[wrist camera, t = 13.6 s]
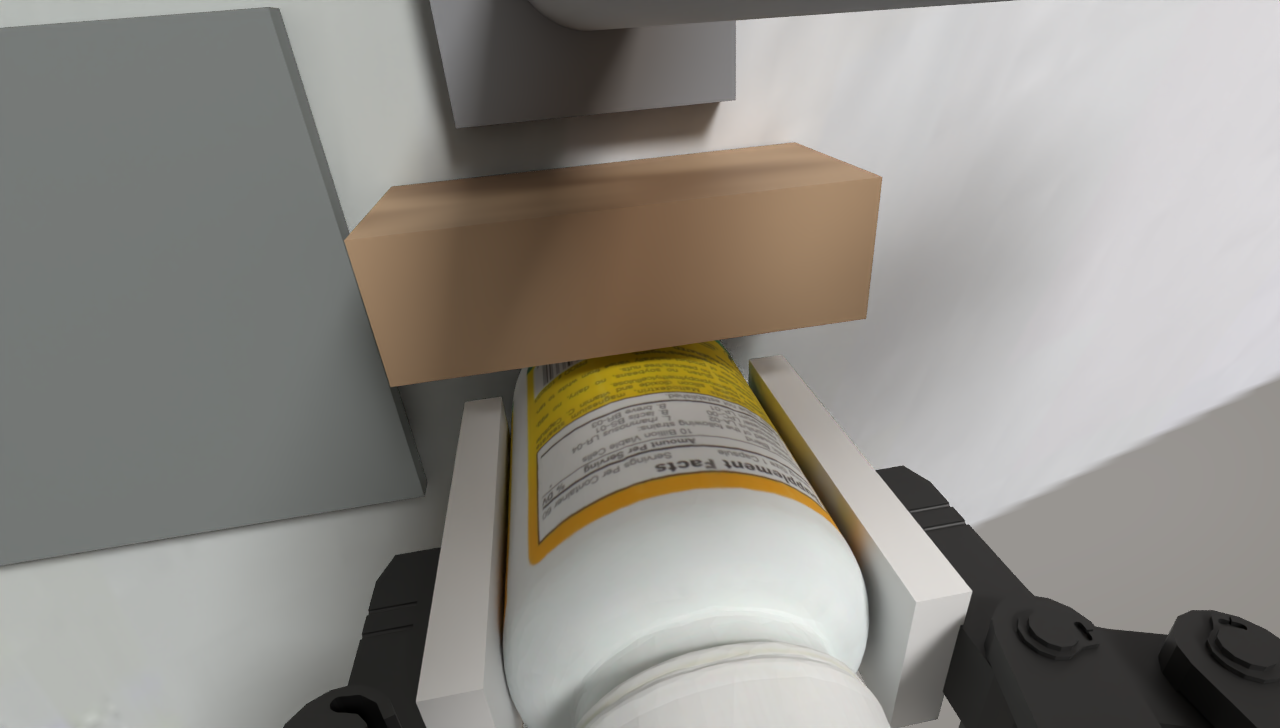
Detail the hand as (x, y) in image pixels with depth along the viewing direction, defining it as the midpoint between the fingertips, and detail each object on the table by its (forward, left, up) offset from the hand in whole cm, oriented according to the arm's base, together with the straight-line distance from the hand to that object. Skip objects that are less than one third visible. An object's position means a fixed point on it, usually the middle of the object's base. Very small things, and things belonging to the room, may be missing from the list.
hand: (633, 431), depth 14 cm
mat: (-10, +4, -1) cm, 11 cm away
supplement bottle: (0, 0, -1) cm, 1 cm away
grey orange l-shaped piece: (+7, +12, 0) cm, 13 cm away
